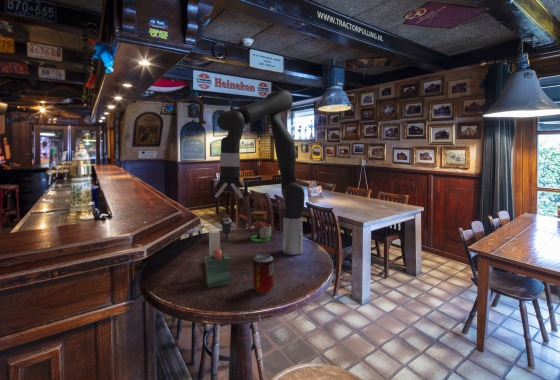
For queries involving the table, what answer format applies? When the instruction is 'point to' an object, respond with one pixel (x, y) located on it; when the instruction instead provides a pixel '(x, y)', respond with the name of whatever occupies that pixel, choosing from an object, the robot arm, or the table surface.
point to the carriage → (214, 241)
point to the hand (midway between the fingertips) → (228, 207)
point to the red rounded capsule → (217, 254)
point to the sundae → (226, 227)
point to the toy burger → (261, 227)
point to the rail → (218, 271)
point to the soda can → (263, 273)
